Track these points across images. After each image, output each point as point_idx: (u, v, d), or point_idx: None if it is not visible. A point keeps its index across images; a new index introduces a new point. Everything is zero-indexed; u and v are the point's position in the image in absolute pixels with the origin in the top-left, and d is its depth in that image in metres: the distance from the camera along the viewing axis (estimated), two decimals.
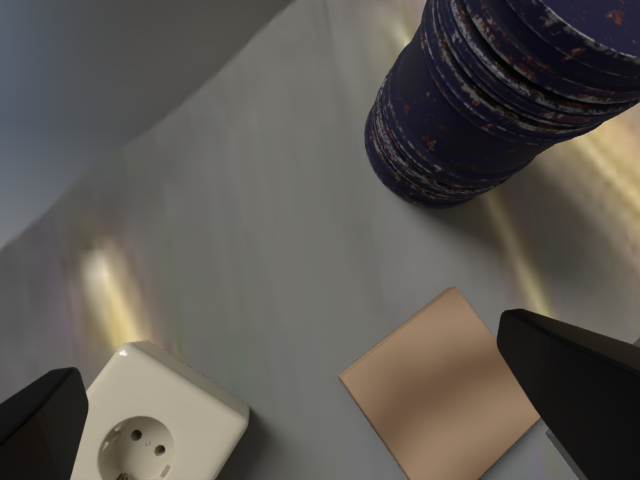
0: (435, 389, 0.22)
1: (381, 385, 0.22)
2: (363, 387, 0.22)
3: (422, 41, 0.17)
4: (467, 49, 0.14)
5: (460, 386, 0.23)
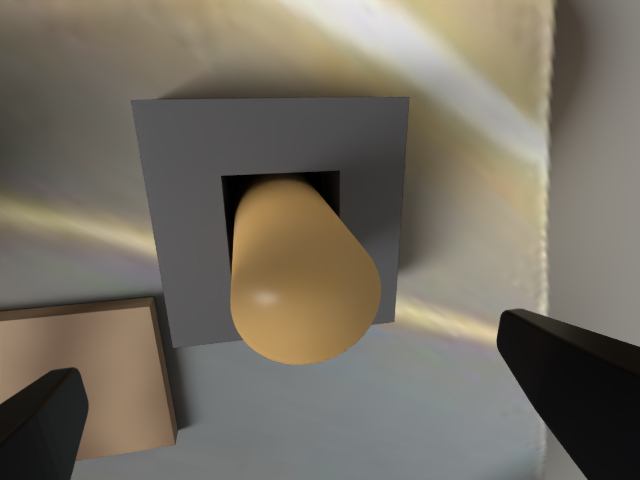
0: None
1: None
2: None
3: None
4: None
5: None
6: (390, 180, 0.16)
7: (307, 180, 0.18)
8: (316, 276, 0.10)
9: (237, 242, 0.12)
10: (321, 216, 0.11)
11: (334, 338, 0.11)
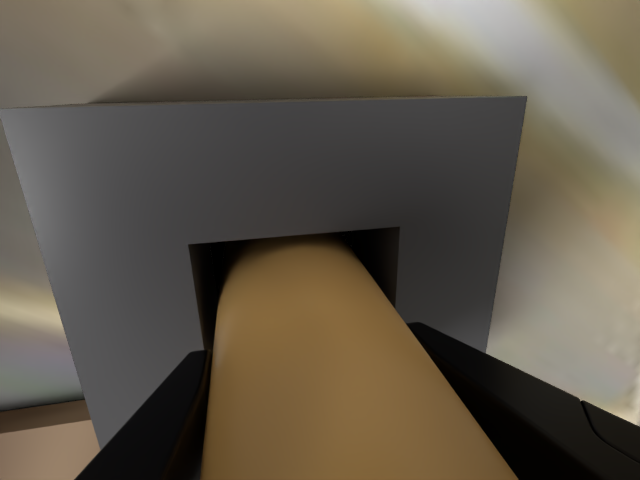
0: None
1: None
2: None
3: None
4: None
5: None
6: (482, 239, 0.09)
7: None
8: None
9: (210, 432, 0.05)
10: (416, 405, 0.04)
11: None
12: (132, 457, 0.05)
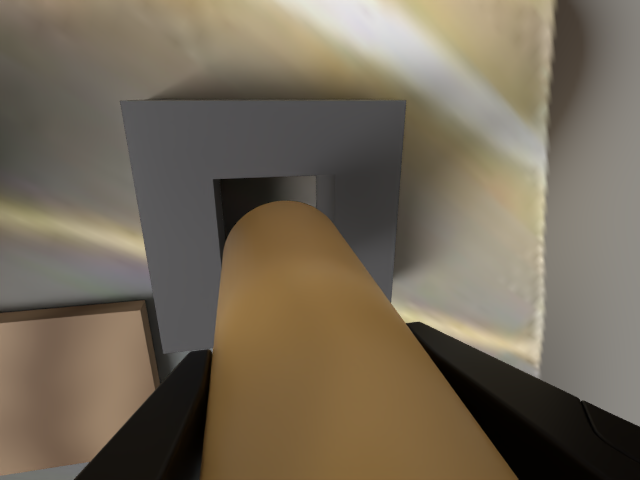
0: (46, 406, 0.19)
1: (12, 448, 0.20)
2: (5, 463, 0.20)
3: None
4: None
5: (57, 381, 0.19)
6: (386, 185, 0.15)
7: (335, 229, 0.11)
8: None
9: (210, 431, 0.05)
10: (416, 404, 0.04)
11: None
12: (132, 457, 0.05)
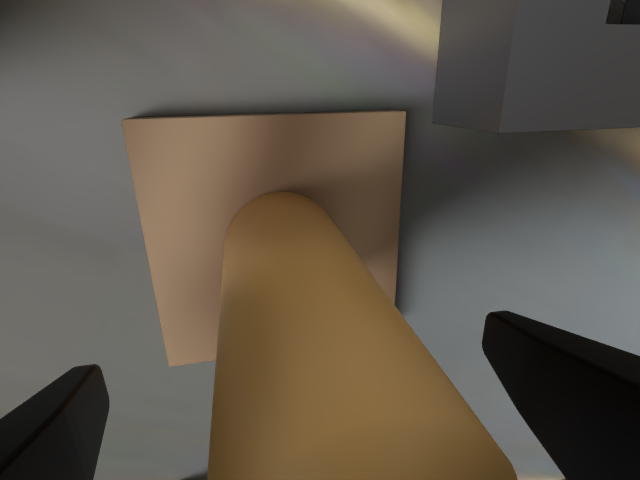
0: None
1: (210, 323, 0.14)
2: (198, 345, 0.15)
3: None
4: None
5: None
6: None
7: (328, 218, 0.12)
8: None
9: (220, 378, 0.06)
10: (388, 348, 0.05)
11: None
12: None
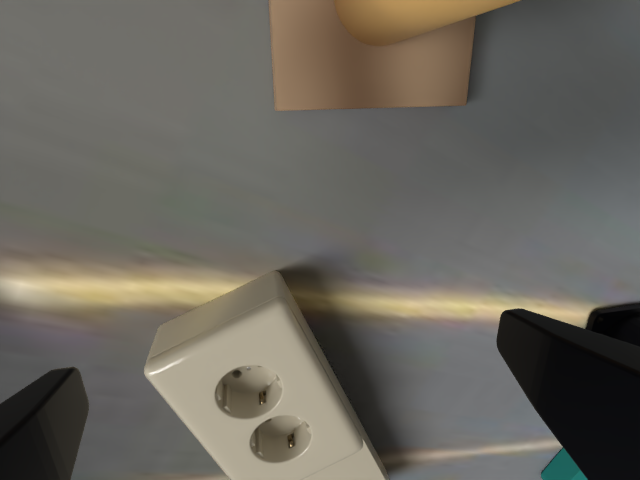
0: None
1: (314, 68, 0.16)
2: (302, 91, 0.17)
3: None
4: None
5: None
6: None
7: None
8: None
9: None
10: None
11: None
12: None
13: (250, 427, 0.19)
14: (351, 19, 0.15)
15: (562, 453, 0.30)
